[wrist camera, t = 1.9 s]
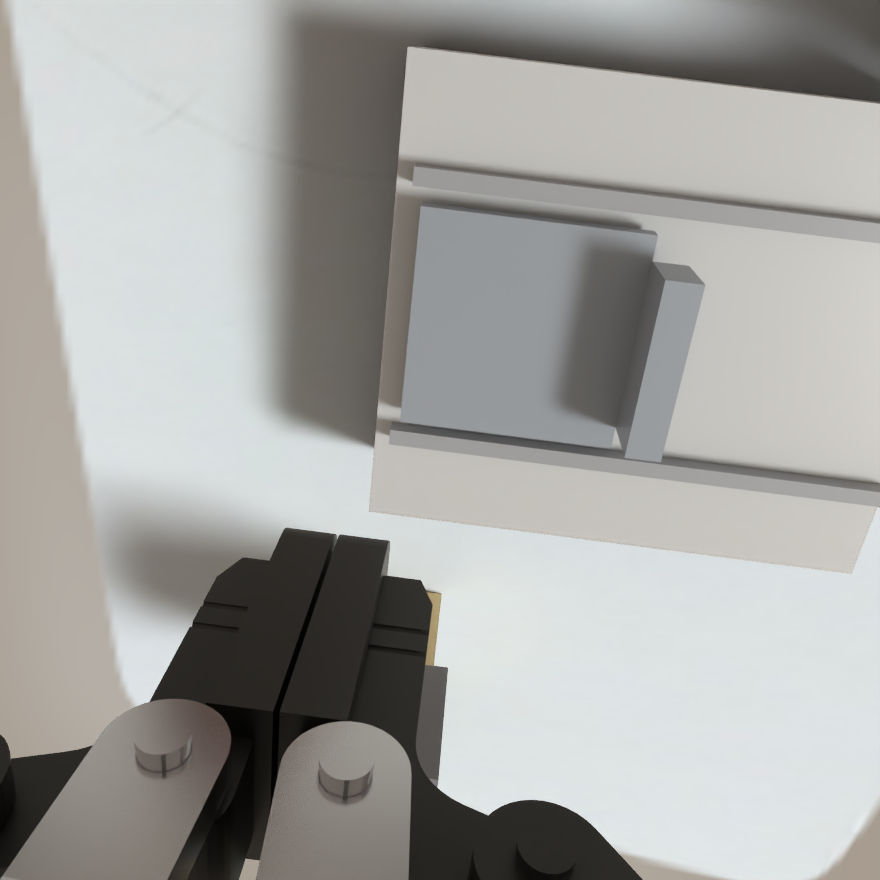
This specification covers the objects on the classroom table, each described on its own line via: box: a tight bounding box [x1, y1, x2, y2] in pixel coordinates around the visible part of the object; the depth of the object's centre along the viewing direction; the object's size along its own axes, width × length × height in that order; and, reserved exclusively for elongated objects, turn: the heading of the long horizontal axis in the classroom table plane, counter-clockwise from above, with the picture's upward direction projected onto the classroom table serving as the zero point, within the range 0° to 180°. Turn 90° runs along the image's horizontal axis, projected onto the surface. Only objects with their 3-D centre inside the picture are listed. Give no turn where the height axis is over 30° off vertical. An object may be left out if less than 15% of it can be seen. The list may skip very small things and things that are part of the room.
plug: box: [416, 592, 448, 787], centre depth 31 cm, size 5×5×10 cm
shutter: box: [400, 202, 705, 462], centre depth 23 cm, size 6×7×3 cm
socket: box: [369, 47, 880, 574], centre depth 26 cm, size 14×16×5 cm
